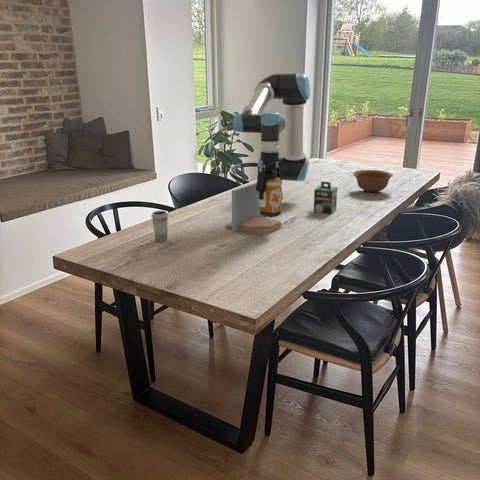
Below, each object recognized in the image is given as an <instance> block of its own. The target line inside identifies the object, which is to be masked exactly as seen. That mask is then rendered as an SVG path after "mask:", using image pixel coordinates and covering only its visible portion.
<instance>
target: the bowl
mask: <svg viewBox="0 0 480 480" xmlns="http://www.w3.org/2000/svg"><path fill="white" fill-rule="evenodd" d="M352 175H353V177H355V179H356V182H357V186H358V187H359V189H361V190H363V193H364V194H367V195H378V194H380V192H381V191H383V190H385V189H386V188H387V186H388V185H389V181H390V179H391V178H393V177H394V174H393V173H391V172H388V171H385V170H377V169H359V170H356V171H354V172H352Z"/></svg>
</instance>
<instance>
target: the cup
mask: <svg viewBox="0 0 480 480" xmlns="http://www.w3.org/2000/svg"><path fill="white" fill-rule="evenodd" d="M150 217H151V218H152V226H153V232H154V233H153V234H154V239H155V242H156V243H166V242H167V241H168V223H169V222H168V217H169V214H168V211H166V210H155V211H153V212H152V214H151V215H150Z"/></svg>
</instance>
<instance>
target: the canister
mask: <svg viewBox="0 0 480 480" xmlns="http://www.w3.org/2000/svg"><path fill="white" fill-rule="evenodd" d="M278 174H279V173H278V172H277V170H271V174H270V176H269V177H268V180H267V184H266V188H265V192H266V207H260V214H261V215H263V216H265V217H267V218H276V217H278V216H281V215H282V200H283V197H282V194H283V186H282V184H281V180H280V178H278V177H276V176H277V175H278Z"/></svg>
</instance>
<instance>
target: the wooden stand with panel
mask: <svg viewBox="0 0 480 480" xmlns="http://www.w3.org/2000/svg"><path fill="white" fill-rule="evenodd" d="M256 185H257V182H255V183H251V184H248V185H245V186H242V187H239V188H234V189H233V190H231V222H230V223H228V224H226V225H225V229H229V230H231V231H232V232H234V233H236V232H238V231H239V232H243V233H248V234H251V235H256V236H260V237H265V236H268V235H269V234H272V233H273V232H274V233H275V232H276V231H277V230H280V229H281V228H282V221H280V220H275V219H271V218H268V217H265V216H263V215H261V214H260V206H259V191H256Z"/></svg>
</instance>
